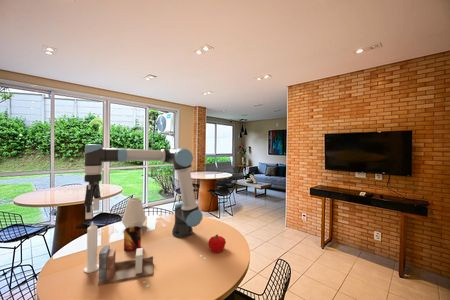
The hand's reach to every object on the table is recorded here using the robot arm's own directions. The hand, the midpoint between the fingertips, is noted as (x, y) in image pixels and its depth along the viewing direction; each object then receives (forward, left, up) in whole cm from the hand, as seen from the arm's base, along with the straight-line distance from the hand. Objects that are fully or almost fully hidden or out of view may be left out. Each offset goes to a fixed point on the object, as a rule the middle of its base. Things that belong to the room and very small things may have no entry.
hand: (92, 214), depth 104 cm
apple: (-68, +2, -29) cm, 74 cm away
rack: (-18, +10, -29) cm, 35 cm away
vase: (-16, -52, -29) cm, 62 cm away
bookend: (-23, +10, -27) cm, 37 cm away
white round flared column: (0, 0, -29) cm, 29 cm away
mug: (-19, -16, -29) cm, 39 cm away
